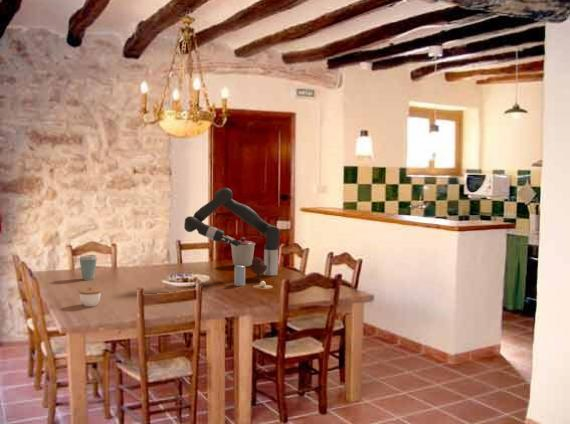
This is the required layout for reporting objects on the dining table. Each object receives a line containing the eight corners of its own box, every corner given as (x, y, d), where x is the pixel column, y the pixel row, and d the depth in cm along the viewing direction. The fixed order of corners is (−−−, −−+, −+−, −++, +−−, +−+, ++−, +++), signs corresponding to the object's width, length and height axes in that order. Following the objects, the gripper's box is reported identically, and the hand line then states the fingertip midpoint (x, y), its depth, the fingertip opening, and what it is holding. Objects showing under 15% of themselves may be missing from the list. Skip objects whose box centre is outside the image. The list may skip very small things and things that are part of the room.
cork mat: (256, 284, 371) (256, 284, 371) (275, 286, 367) (275, 285, 367) (250, 288, 359) (250, 287, 359) (269, 290, 356) (269, 289, 356)
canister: (260, 266, 437) (260, 237, 435) (241, 269, 423) (242, 239, 422) (243, 263, 449) (243, 235, 447) (224, 265, 436) (225, 236, 434)
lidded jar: (82, 302, 315) (82, 285, 314) (103, 302, 316) (103, 285, 315) (76, 307, 305) (76, 289, 304) (98, 307, 305) (98, 289, 305)
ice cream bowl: (264, 282, 379) (265, 258, 378) (247, 281, 381) (248, 257, 380) (268, 279, 389) (269, 256, 388) (251, 278, 391) (252, 255, 390)
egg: (261, 285, 365) (261, 280, 365) (266, 286, 364) (266, 280, 364) (259, 287, 362) (259, 281, 362) (264, 287, 361) (264, 281, 361)
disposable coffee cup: (78, 280, 370) (78, 256, 369) (80, 277, 381) (80, 254, 379) (96, 280, 372) (96, 256, 371) (97, 277, 383) (97, 253, 382)
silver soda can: (236, 284, 371) (237, 265, 370) (246, 285, 370) (246, 265, 369) (232, 286, 366) (233, 266, 364) (242, 287, 364) (242, 267, 363)
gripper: (215, 229, 361) (240, 239, 360) (219, 228, 375) (243, 237, 374) (210, 240, 361) (235, 250, 360) (214, 239, 376) (238, 249, 375)
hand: (239, 244), depth 367 cm, fingers open, 8 cm apart
